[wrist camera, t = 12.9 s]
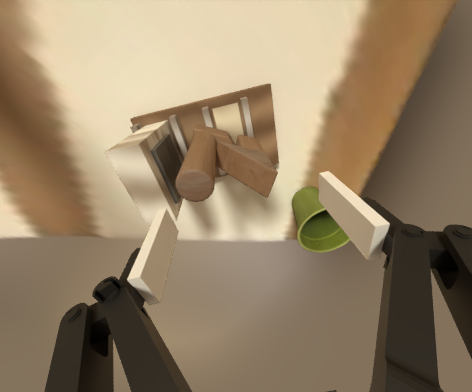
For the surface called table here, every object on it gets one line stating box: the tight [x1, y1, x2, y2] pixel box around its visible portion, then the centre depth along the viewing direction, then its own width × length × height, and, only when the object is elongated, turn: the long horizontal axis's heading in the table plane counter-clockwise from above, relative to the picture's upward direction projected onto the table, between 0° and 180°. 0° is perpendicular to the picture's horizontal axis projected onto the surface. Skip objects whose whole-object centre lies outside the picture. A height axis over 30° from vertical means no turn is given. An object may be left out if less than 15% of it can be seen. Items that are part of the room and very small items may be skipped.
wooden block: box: [176, 124, 278, 202], centre depth 26 cm, size 4×11×18 cm, turn 75°
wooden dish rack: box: [104, 84, 279, 227], centre depth 30 cm, size 14×24×16 cm, turn 102°
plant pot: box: [292, 187, 351, 252], centre depth 41 cm, size 12×12×11 cm
